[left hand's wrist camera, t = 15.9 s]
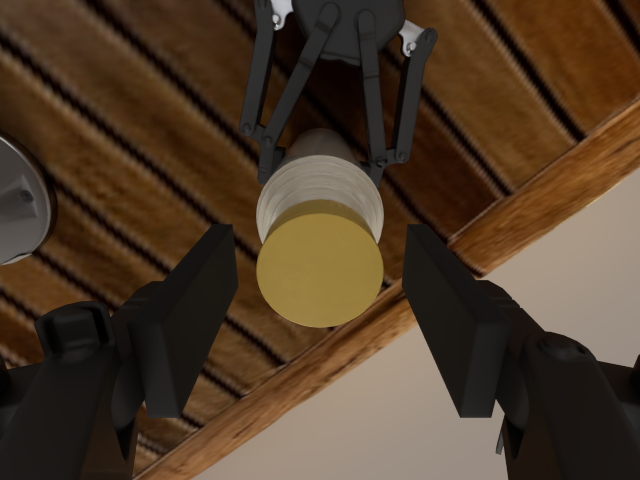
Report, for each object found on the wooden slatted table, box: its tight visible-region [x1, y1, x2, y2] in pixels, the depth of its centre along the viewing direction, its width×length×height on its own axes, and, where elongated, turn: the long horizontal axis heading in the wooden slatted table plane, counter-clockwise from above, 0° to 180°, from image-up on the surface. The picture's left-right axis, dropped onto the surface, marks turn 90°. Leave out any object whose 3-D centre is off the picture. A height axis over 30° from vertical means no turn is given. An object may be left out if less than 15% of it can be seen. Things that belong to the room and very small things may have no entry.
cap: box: [256, 199, 384, 327], centre depth 13 cm, size 5×5×2 cm
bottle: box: [256, 128, 384, 244], centre depth 25 cm, size 7×7×26 cm
